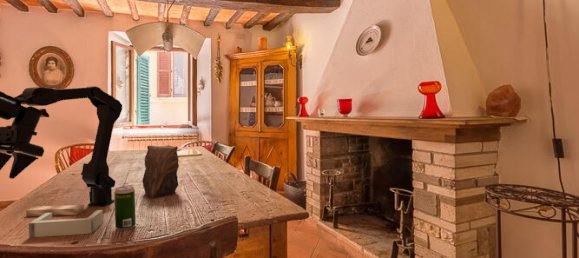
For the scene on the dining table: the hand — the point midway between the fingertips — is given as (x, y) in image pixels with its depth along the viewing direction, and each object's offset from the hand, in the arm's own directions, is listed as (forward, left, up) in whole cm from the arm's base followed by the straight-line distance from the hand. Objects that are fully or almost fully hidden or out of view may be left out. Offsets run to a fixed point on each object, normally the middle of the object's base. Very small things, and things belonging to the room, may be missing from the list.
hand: (1, 177), depth 93 cm
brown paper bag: (-25, -43, -16) cm, 52 cm away
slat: (-2, -17, -16) cm, 23 cm away
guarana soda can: (-33, -6, -16) cm, 37 cm away
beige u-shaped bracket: (-17, -4, -16) cm, 23 cm away
